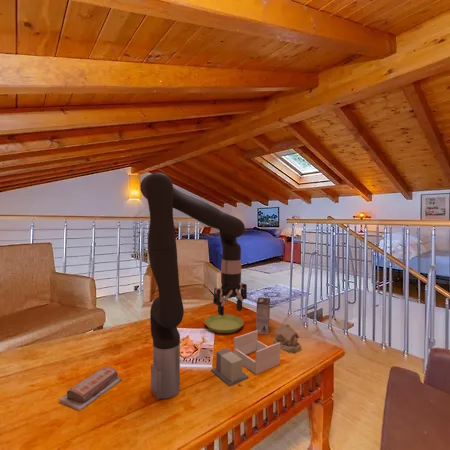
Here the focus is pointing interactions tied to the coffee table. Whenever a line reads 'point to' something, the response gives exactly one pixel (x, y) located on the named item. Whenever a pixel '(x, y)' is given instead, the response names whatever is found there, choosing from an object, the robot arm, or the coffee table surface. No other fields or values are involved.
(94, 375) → the packaged product
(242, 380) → the mat
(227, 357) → the box
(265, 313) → the coffee box
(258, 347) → the carton
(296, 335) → the ceramic model
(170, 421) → the coffee table surface
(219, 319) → the saucer
